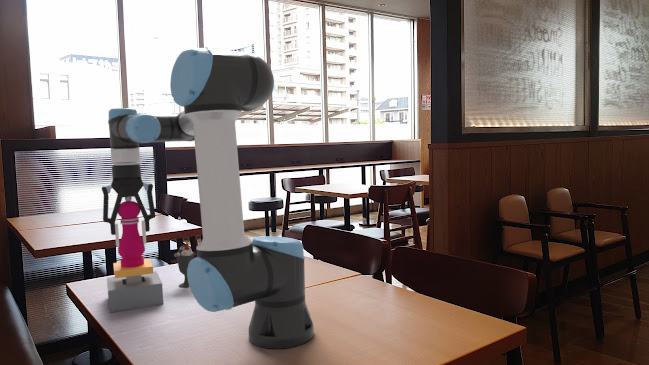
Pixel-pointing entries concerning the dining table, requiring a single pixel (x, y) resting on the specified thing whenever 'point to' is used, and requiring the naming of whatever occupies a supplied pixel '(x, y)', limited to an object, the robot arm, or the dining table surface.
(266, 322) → the robot arm
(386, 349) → the dining table surface
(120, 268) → the button
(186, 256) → the sundae
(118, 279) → the breaker box
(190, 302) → the dining table surface
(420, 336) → the dining table surface
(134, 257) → the pepper mill
